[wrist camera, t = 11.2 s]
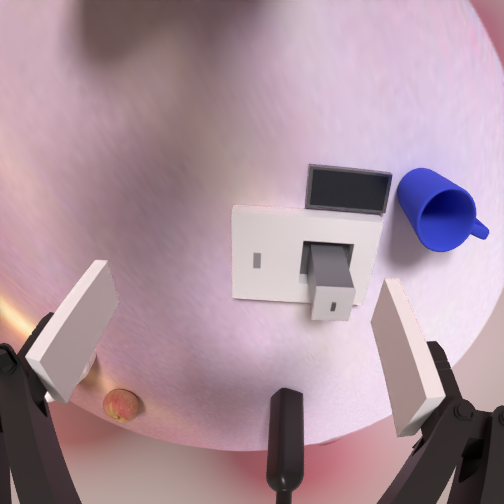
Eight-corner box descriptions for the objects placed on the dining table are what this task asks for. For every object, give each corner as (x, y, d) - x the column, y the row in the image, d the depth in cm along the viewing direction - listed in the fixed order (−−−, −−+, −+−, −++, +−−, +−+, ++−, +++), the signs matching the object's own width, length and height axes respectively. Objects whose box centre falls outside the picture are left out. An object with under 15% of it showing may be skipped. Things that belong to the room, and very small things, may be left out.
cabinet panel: (233, 204, 44) (231, 212, 41) (378, 214, 43) (384, 223, 40) (234, 288, 51) (232, 298, 49) (359, 294, 50) (363, 305, 48)
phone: (308, 163, 40) (309, 166, 39) (390, 172, 39) (392, 175, 38) (305, 203, 43) (305, 206, 42) (383, 210, 42) (385, 213, 41)
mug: (447, 230, 43) (477, 266, 34) (382, 206, 42) (405, 242, 33) (469, 182, 38) (506, 211, 30) (403, 152, 38) (435, 176, 29)
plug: (309, 240, 45) (316, 291, 36) (341, 243, 45) (356, 292, 36) (306, 268, 48) (311, 321, 38) (336, 269, 48) (348, 322, 38)
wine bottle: (291, 404, 67) (287, 529, 42) (269, 398, 66) (259, 526, 41) (305, 392, 65) (305, 524, 39) (282, 385, 64) (276, 522, 38)
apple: (105, 380, 70) (94, 405, 63) (136, 385, 69) (126, 412, 62) (117, 400, 75) (107, 424, 68) (146, 405, 74) (138, 430, 67)
